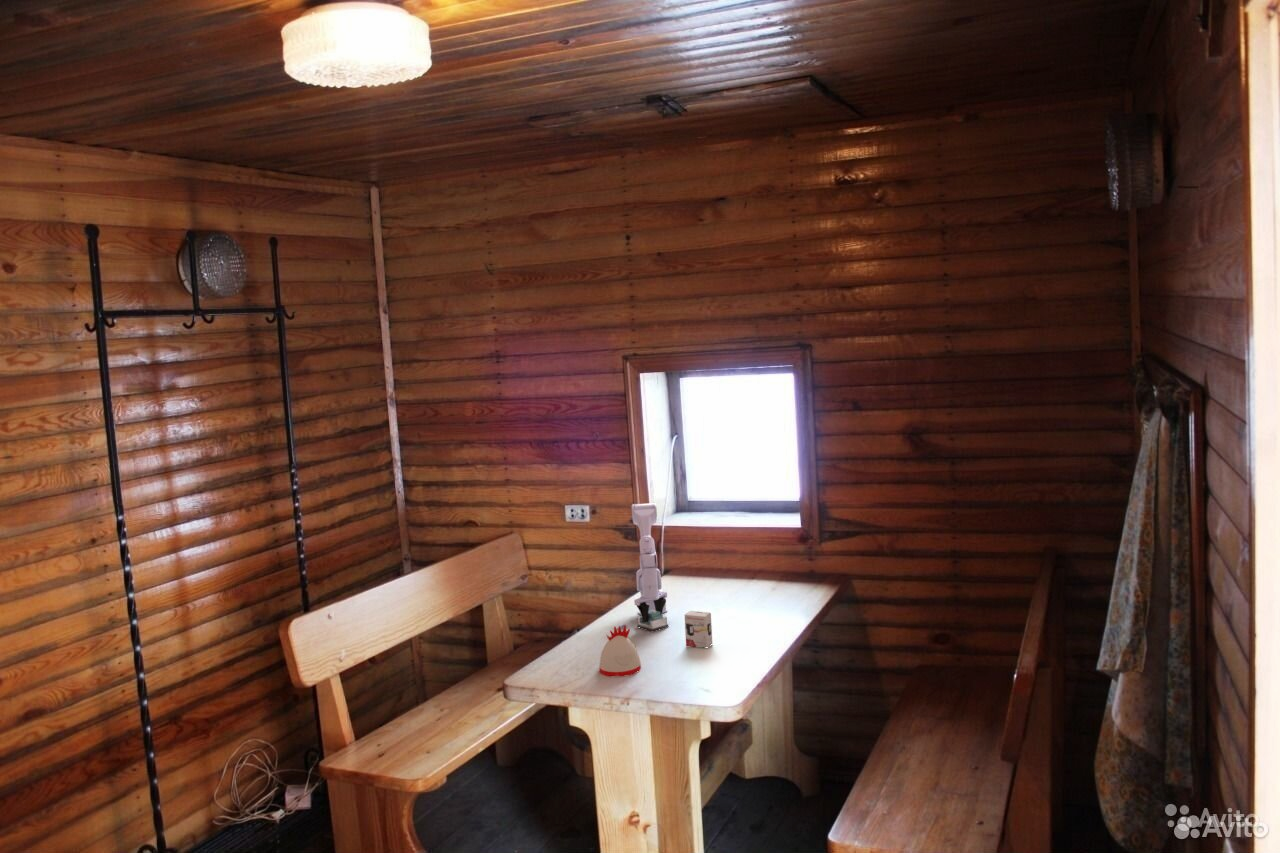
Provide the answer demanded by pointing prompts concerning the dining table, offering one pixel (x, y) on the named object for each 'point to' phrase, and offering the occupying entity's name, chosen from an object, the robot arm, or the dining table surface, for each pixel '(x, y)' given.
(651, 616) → the block
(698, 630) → the ink box
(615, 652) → the chicken hat
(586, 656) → the dining table surface
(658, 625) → the plate
